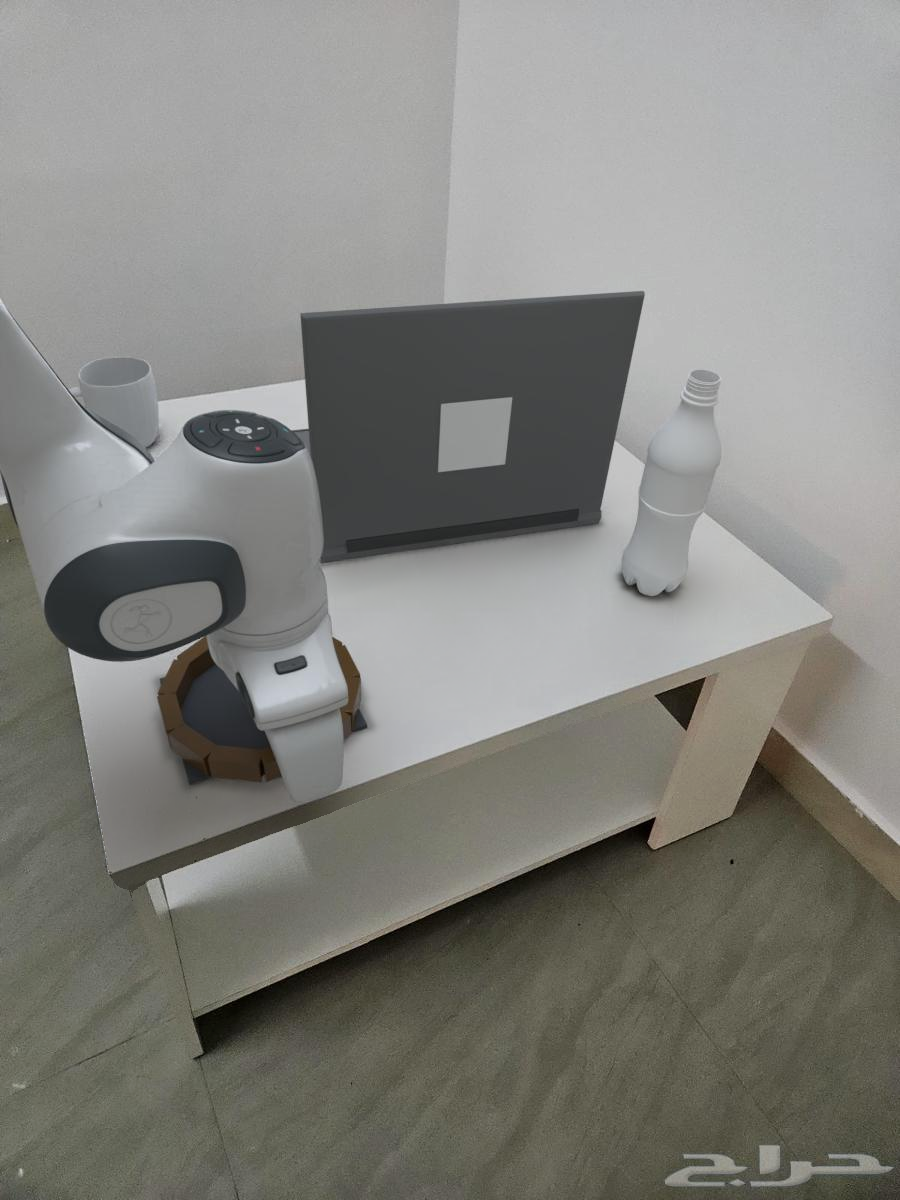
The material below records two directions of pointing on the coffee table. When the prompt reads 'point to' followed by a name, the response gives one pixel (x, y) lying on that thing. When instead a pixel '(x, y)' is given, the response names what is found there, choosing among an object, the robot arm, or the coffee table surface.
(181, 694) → the hoop
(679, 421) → the water bottle
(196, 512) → the robot arm
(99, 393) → the mug
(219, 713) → the mat
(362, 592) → the coffee table surface
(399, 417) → the laptop
